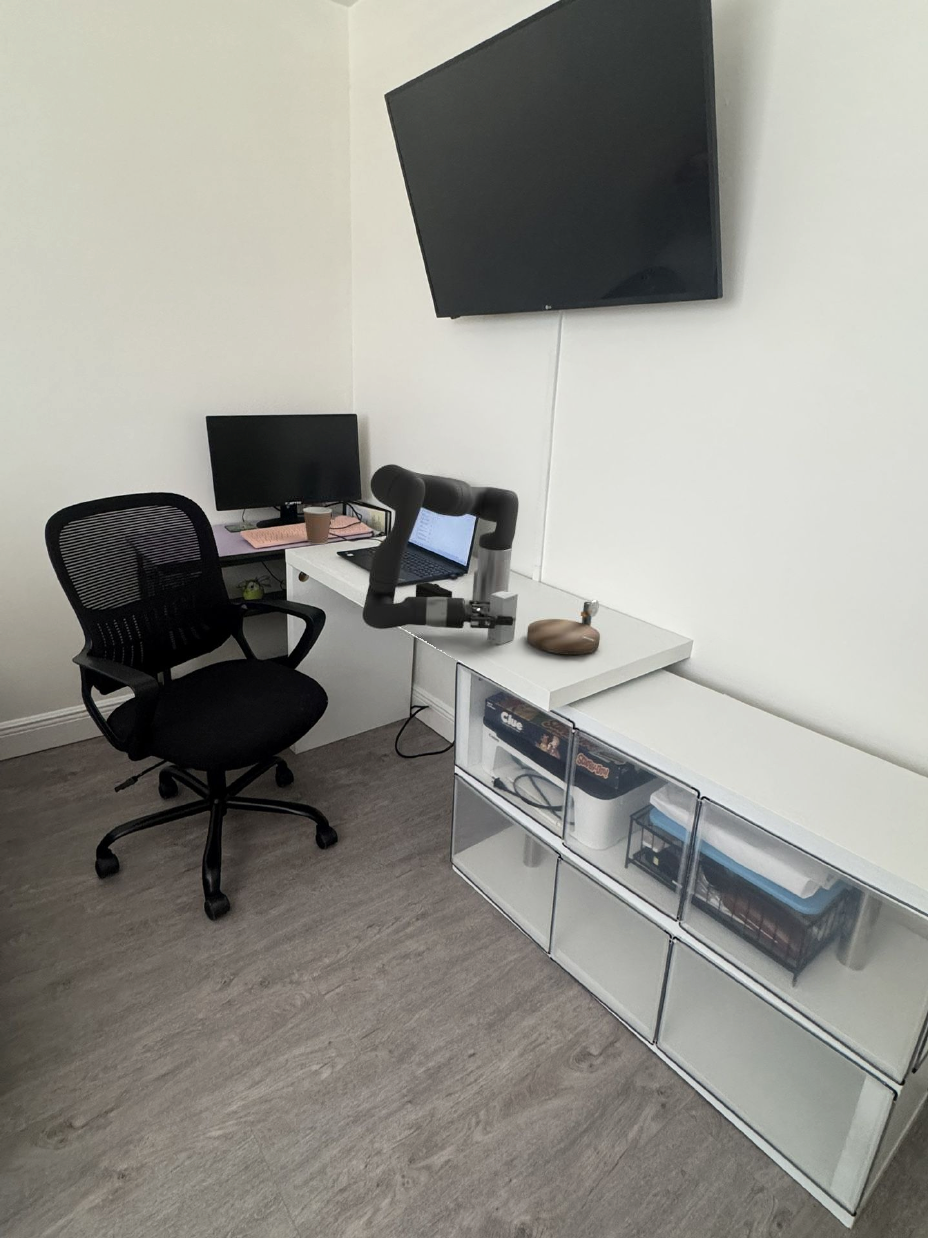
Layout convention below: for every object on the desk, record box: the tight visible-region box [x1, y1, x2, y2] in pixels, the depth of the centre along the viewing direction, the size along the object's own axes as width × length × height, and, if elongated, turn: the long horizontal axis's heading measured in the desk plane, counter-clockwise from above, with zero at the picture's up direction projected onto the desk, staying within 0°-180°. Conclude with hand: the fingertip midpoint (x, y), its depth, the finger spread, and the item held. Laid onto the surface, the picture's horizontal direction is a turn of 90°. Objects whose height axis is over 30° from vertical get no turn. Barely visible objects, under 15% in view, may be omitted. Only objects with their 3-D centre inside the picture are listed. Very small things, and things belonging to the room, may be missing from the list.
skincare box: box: [487, 590, 519, 646], centre depth 173 cm, size 6×4×12 cm
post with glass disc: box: [580, 599, 600, 627], centre depth 183 cm, size 5×3×9 cm, turn 141°
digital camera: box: [415, 581, 453, 598], centre depth 192 cm, size 10×5×7 cm, turn 43°
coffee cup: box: [302, 506, 333, 545], centre depth 255 cm, size 10×10×12 cm
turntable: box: [526, 618, 601, 655], centre depth 175 cm, size 18×18×2 cm
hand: (511, 615), depth 173 cm, fingers closed on skincare box, 7 cm apart
